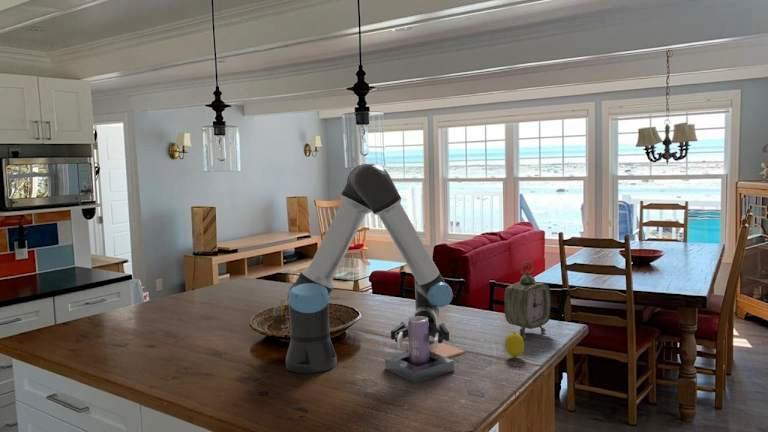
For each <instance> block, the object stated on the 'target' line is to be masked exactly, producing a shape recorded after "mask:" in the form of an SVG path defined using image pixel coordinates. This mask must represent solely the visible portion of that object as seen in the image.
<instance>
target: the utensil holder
mask: <svg viewBox="0 0 768 432" xmlns="http://www.w3.org/2000/svg"><path fill="white" fill-rule="evenodd" d="M285 303H286V300H285V299H284V300H283V299H281V300H280V306H277V305H275V306H274V313H275V314H273V316H272V318H271V319H272V322H271V330H272V329H273V330H279V331H286V330H289V331H290V322H289V321H288V315H287V314H283V311H284V310H285V306H286V305H285ZM276 308H279V310H277V309H276ZM280 310H281V313H280ZM277 313H278V314H277Z"/></svg>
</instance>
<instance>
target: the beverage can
mask: <svg viewBox="0 0 768 432" xmlns="http://www.w3.org/2000/svg"><path fill="white" fill-rule="evenodd" d="M407 325H408V337H407V339H408V340H407V341H408V342H407V343H408V346H407V347H408V352H409V363H410V364H412V365H414V366H417V367H418V366H421V365H424V364H428V363H430V355H429V344H430V336H429V322H428V318H427V317H424V316H414V315H413V316H410V317H409V318H408V319H407Z"/></svg>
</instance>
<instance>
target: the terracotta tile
mask: <svg viewBox="0 0 768 432" xmlns="http://www.w3.org/2000/svg"><path fill="white" fill-rule="evenodd" d="M429 351H430V352H433V353H436V354H438V355H441V356H443V357H446V358H449V359H451V358H452V357H456V356H459V355H463V354H465V353H466V351H465V350H464V349H460V348H457V347H456V346H452V345H450V344H446V343H444V342H442V343H439V344H438V349H435V342H433V343H429Z"/></svg>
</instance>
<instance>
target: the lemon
mask: <svg viewBox="0 0 768 432" xmlns="http://www.w3.org/2000/svg"><path fill="white" fill-rule="evenodd" d="M521 336H522V334H519V333H517V332H516V331H513V332H511V333H509V334H508V336H506V339H505V343H504V346H505V350H506V353H507V354H508V355H509V356H511V357H512V358H513V359H517V358H518V357H519V356H521V355H522V354H523V353H524V349H525V341H524V339H523V338H522V337H521Z"/></svg>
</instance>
